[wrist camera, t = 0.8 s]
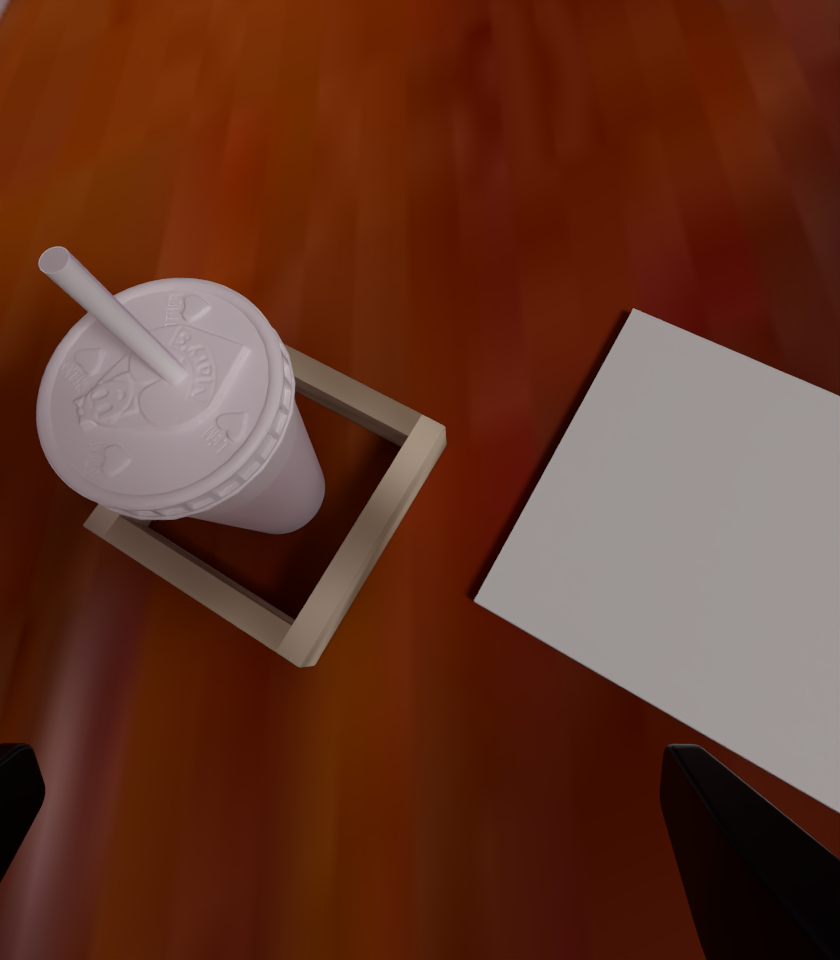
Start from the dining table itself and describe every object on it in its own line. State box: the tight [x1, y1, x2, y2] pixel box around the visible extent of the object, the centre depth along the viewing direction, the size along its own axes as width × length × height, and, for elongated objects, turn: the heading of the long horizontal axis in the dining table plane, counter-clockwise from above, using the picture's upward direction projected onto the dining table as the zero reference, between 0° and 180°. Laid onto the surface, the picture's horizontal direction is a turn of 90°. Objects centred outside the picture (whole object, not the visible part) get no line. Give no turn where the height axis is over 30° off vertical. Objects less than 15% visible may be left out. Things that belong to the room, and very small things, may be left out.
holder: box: [83, 344, 447, 668], centre depth 22 cm, size 10×10×2 cm
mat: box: [474, 308, 840, 813], centre depth 21 cm, size 14×14×1 cm
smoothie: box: [36, 247, 325, 534], centre depth 16 cm, size 6×6×14 cm
